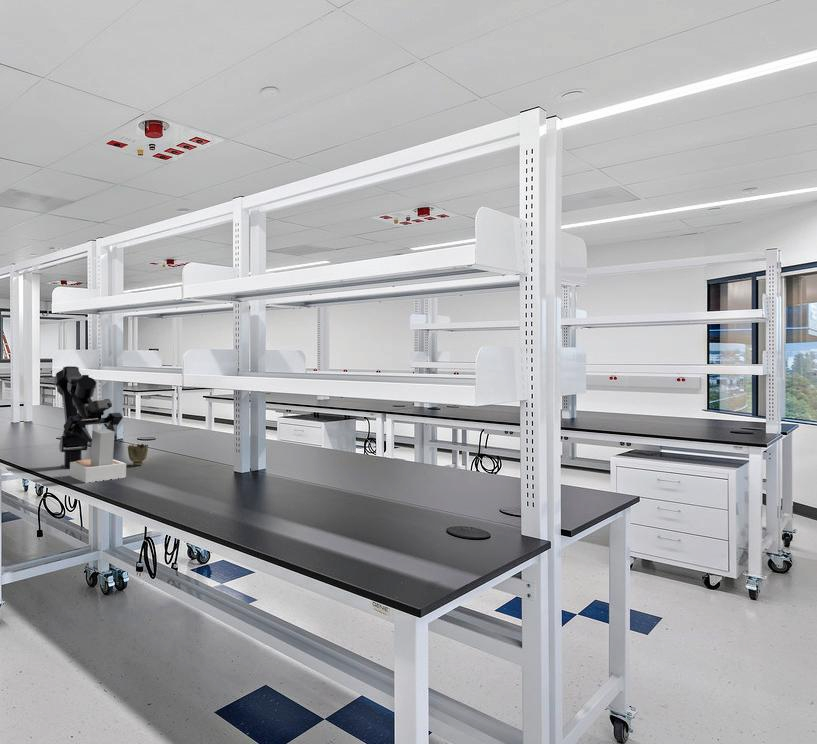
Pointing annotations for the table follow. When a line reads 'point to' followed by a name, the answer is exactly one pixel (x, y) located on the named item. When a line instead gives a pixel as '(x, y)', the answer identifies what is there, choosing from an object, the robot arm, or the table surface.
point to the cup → (137, 453)
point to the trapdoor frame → (97, 472)
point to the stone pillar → (102, 447)
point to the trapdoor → (86, 462)
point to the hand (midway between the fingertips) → (103, 440)
